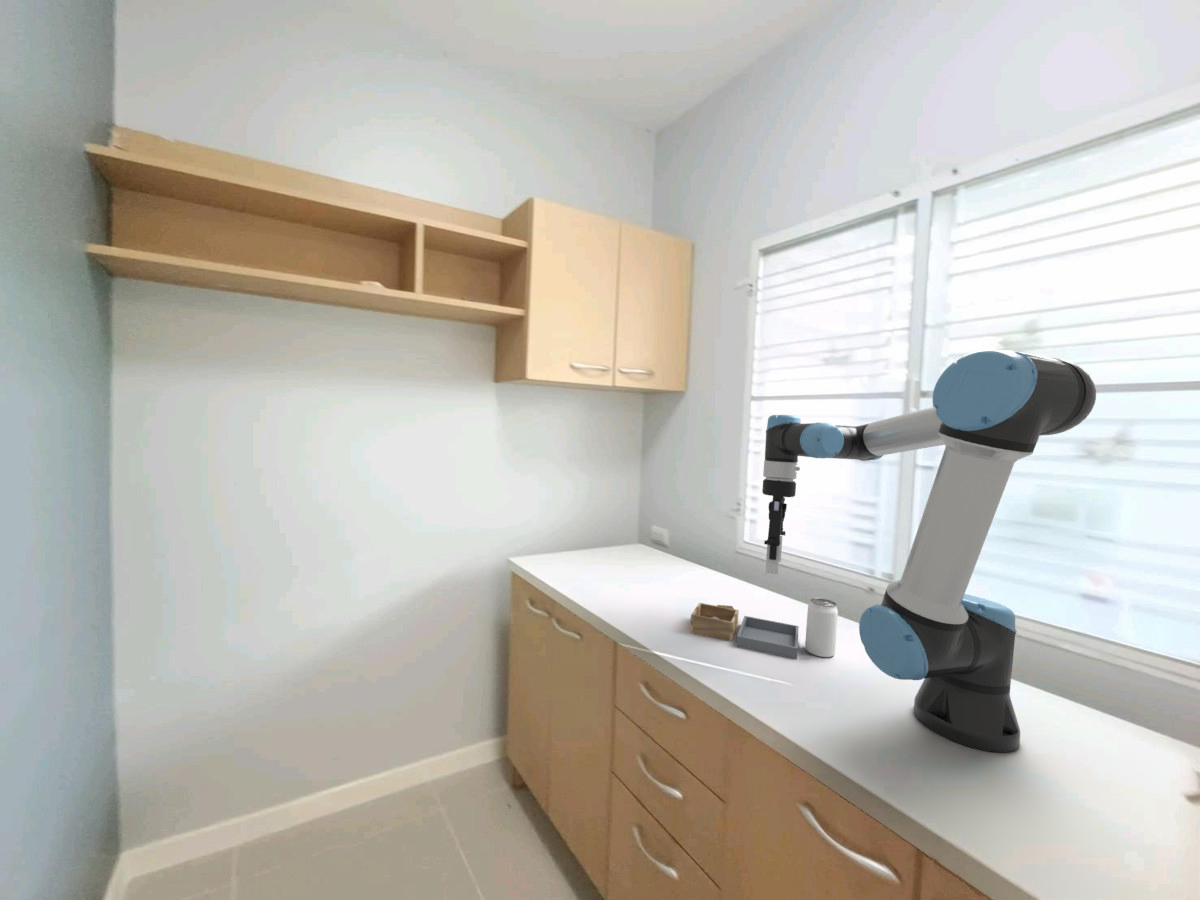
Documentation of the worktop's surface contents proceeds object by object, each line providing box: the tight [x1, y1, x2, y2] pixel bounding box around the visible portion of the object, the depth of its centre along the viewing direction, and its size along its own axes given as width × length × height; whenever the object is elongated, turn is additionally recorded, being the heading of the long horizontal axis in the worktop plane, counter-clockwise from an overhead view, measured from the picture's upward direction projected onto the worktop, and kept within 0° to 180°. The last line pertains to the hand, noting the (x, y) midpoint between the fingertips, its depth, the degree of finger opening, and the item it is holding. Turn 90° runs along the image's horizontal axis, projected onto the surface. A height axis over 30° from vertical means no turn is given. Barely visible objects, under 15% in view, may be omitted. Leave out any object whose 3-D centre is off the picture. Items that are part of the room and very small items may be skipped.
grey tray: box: [735, 615, 799, 660], centre depth 119 cm, size 15×13×3 cm
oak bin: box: [689, 602, 740, 642], centre depth 124 cm, size 10×10×5 cm
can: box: [804, 597, 839, 659], centre depth 115 cm, size 6×6×12 cm
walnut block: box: [716, 604, 735, 609], centre depth 131 cm, size 4×4×4 cm
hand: (773, 566), depth 119 cm, fingers open, 13 cm apart
